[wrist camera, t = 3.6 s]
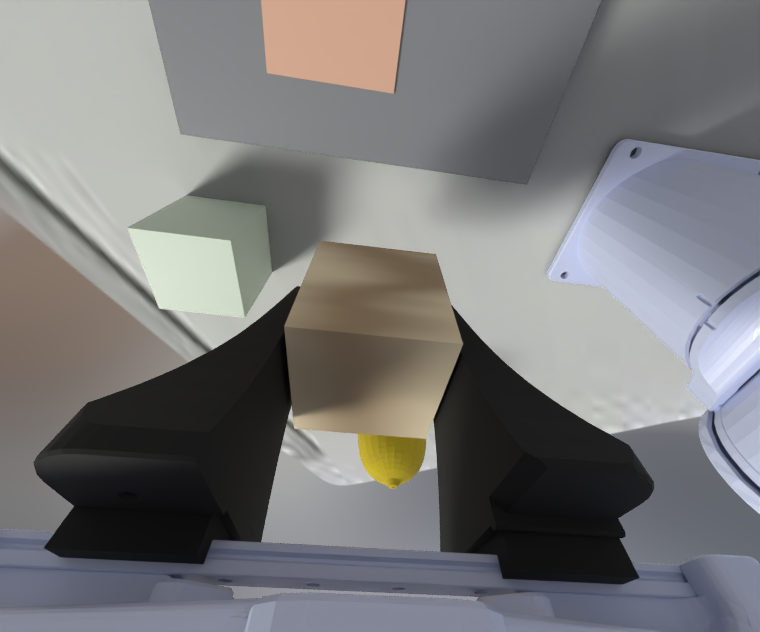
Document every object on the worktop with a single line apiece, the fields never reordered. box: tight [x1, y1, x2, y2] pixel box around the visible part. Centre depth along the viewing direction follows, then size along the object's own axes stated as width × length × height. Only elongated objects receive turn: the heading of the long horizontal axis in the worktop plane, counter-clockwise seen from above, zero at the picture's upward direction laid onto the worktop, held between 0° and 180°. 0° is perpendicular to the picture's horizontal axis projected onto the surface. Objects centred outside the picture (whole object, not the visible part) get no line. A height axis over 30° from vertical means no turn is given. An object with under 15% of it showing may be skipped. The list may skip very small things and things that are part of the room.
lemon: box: [358, 434, 426, 489], centre depth 25 cm, size 6×6×8 cm
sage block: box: [127, 195, 272, 318], centre depth 17 cm, size 4×4×5 cm
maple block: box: [284, 241, 463, 439], centre depth 11 cm, size 4×4×5 cm
